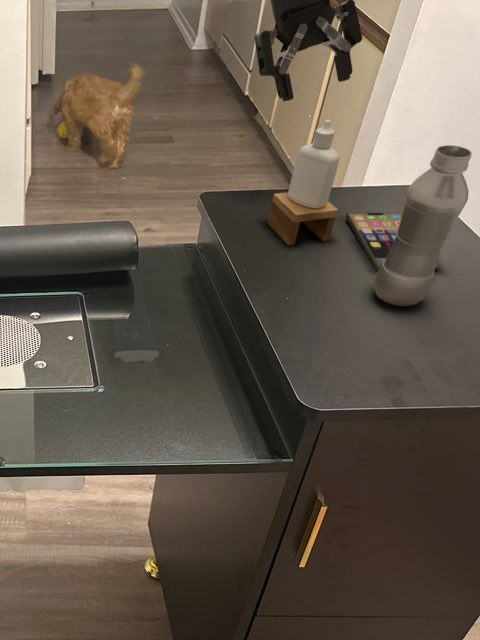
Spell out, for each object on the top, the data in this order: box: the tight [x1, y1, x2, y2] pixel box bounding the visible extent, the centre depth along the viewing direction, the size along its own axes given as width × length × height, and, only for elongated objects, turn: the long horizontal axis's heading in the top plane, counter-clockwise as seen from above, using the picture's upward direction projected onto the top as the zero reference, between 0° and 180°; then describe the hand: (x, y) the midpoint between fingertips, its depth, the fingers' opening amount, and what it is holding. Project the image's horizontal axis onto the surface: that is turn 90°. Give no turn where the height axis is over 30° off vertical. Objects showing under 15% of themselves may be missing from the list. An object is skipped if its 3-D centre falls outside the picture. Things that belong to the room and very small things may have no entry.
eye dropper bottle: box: [287, 119, 341, 209], centre depth 103 cm, size 4×6×12 cm
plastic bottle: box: [373, 144, 473, 307], centre depth 89 cm, size 6×7×20 cm
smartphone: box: [345, 212, 440, 272], centre depth 106 cm, size 8×15×1 cm, turn 175°
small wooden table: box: [266, 191, 339, 246], centre depth 108 cm, size 6×7×5 cm
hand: (316, 90), depth 107 cm, fingers open, 8 cm apart
